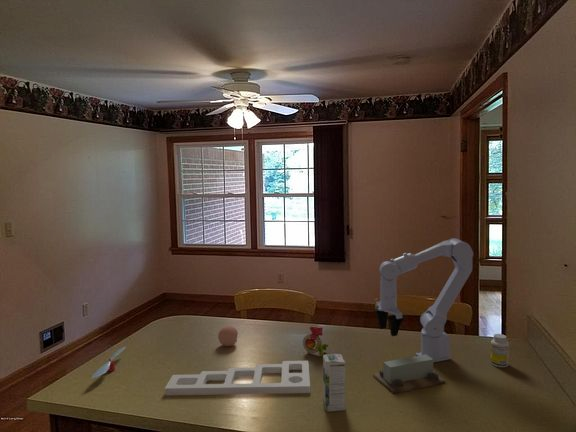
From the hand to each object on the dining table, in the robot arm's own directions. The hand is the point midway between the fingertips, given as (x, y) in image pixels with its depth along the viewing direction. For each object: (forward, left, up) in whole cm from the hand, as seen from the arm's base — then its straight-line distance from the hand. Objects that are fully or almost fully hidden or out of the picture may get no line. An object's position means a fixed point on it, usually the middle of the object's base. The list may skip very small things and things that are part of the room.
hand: (388, 331), depth 152 cm
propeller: (+96, -26, -10) cm, 100 cm away
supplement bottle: (-32, +19, -10) cm, 38 cm away
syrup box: (+32, +23, -10) cm, 41 cm away
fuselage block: (+3, +17, -9) cm, 19 cm away
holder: (+54, -2, -10) cm, 55 cm away
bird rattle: (+24, -12, -10) cm, 29 cm away
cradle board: (+3, +17, -9) cm, 20 cm away
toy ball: (+53, -32, -10) cm, 63 cm away
